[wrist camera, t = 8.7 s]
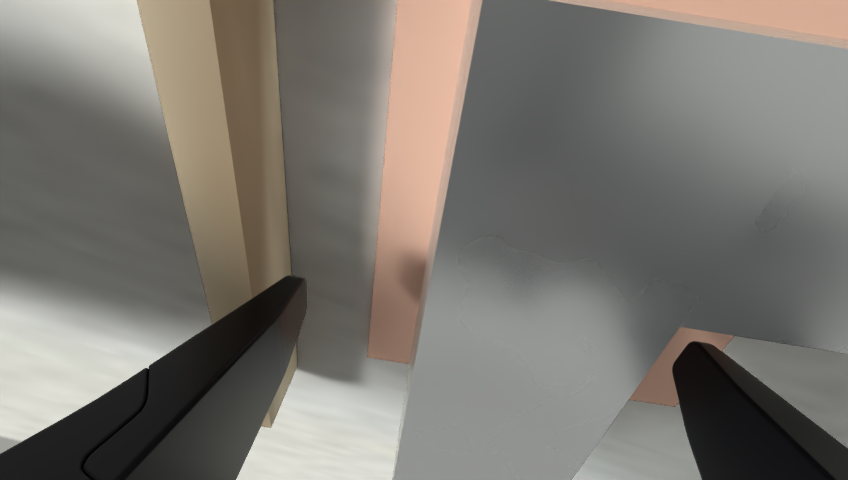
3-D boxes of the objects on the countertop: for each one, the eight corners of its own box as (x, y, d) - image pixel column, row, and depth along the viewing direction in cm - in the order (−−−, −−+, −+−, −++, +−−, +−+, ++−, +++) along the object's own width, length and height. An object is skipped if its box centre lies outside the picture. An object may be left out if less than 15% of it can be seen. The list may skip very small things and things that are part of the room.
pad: (368, 350, 14) (367, 357, 14) (411, -137, 7) (409, -142, 7) (671, 399, 14) (674, 407, 14) (1025, -36, 7) (1045, -36, 7)
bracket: (474, -22, 8) (483, -10, 4) (886, 46, 8) (1373, 133, 4) (413, 335, 13) (389, 499, 9) (651, 373, 13) (734, 554, 9)
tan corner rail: (266, 360, 15) (234, 422, 13) (150, -501, 5) (-50, -801, 3) (645, 421, 15) (673, 492, 13) (1232, -317, 5) (1713, -497, 3)
